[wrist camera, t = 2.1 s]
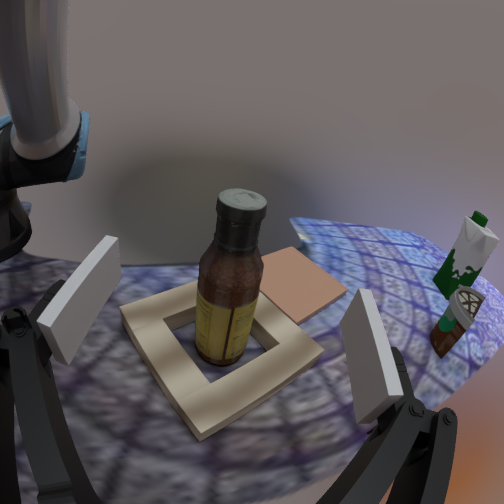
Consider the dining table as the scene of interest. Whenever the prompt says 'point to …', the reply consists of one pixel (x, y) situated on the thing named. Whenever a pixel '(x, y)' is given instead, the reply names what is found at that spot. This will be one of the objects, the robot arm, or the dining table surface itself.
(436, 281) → the milk carton
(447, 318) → the food container
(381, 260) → the dining table surface
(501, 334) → the dining table surface
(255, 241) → the sauce bottle
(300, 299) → the terracotta tile
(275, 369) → the bottle stand
